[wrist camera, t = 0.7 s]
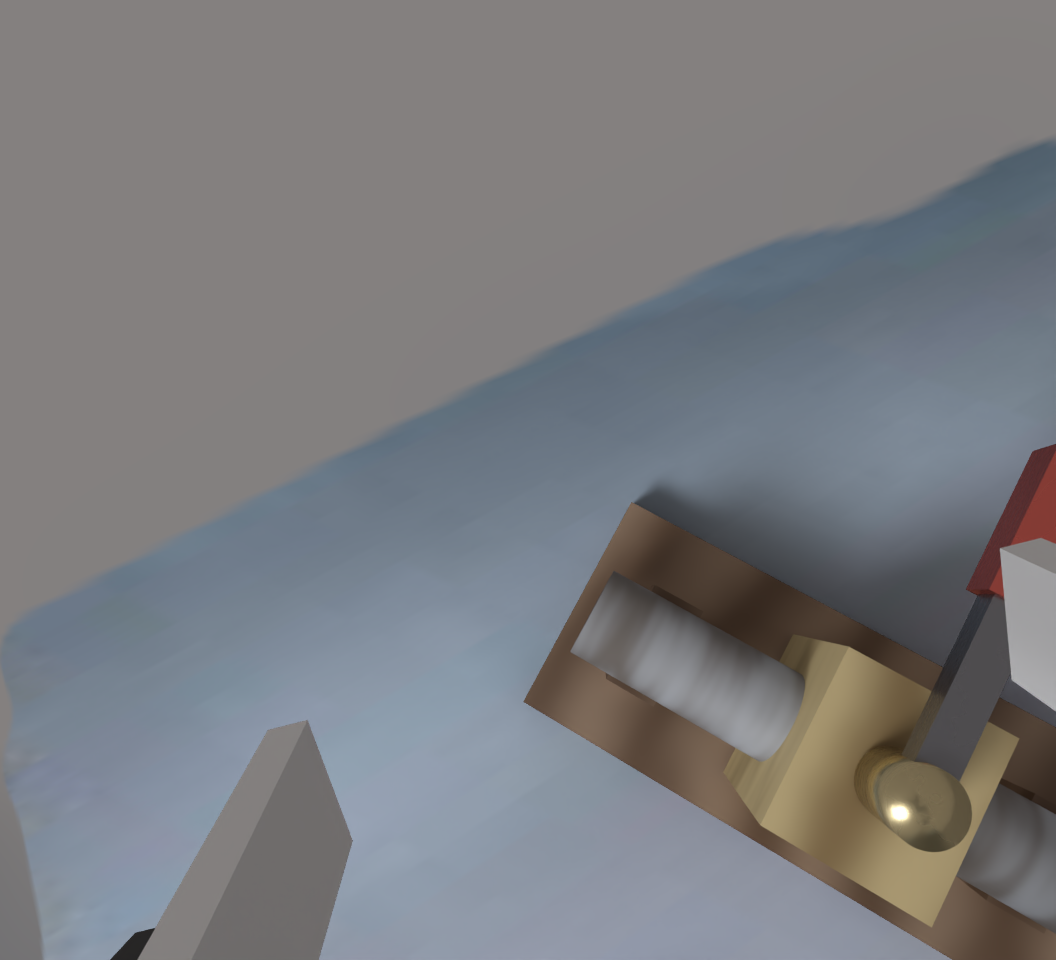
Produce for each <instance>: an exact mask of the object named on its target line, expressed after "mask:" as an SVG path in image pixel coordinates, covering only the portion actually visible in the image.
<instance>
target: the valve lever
mask: <svg viewBox="0 0 1056 960" xmlns="http://www.w3.org/2000/svg"><path fill="white" fill-rule="evenodd" d="M1039 538H1043V539H1045V540H1048V541H1050V542H1052V543H1055V544H1056V444H1054V445H1051V446H1048V447H1045V448H1041V449H1038V450H1035V451H1033V452H1032V454H1031V456H1030V458H1029V460H1028V462H1027V464H1026V466H1025V468H1024V470H1023V472H1022V474H1021V477H1020V479H1019V481H1018V483H1017V485H1016V487H1015V489H1014V491H1013V493H1012V495H1011V497H1010V499H1009V501H1008V503H1007V506H1006V508H1005V510H1004V512H1003V514H1002V516H1001V518H1000V520H999V522H998V524H997V526H996V528H995V530H994V532H993V534H992V537H991V539H990V541H989V543H988V545H987V547H986V549H985V551H984V553H983V555H982V557H981V559H980V561H979V563H978V565H977V568H976V570H975V572H974V574H973V576H972V578H971V580H970V582H969V584H968V586H967V588H966V590H968V591H970V592H972V593H974V594H976V595H978V596H977V598H976V600H975V603H974V605H973V607H972V609H971V611H970V613H969V615H968V617H967V619H966V621H965V623H964V625H963V628H962V630H961V632H960V634H959V636H958V638H957V640H956V642H955V644H954V646H953V648H952V650H951V652H950V655H949V657H948V659H947V661H946V663H945V665H944V667H943V669H942V671H941V673H940V675H939V677H938V679H937V682H936V684H935V686H934V688H933V690H932V692H931V694H930V696H929V698H928V700H927V702H926V704H925V706H924V709H923V711H922V713H921V715H920V717H919V719H918V721H917V723H916V725H915V727H914V729H913V731H912V734H911V736H910V738H909V740H908V742H907V744H906V746H905V748H904V749H901V748H898V747H893V746H883V747H878V748H875V749H873V750H871V751H869V752H868V753H866V754H865V755H864V756H863V757H862V758H861V760H860V761H859V763H858V765H857V767H856V770H855V774H854V787H855V791H856V794H857V797H858V799H859V801H860V802H861V804H862V805H863V807H864V808H865V809H866V810H867V811H868V812H869V813H870V814H872V815H873V816H874V817H875V818H877V819H878V820H879V821H880V822H881V823H883V824H884V825H885V826H886V827H888V828H889V829H890V830H891V831H892V832H894V833H895V834H896V835H897V836H899V837H900V838H901V839H902V840H904V841H905V842H906V843H907V844H909V845H910V846H912V847H914V848H916V849H919V850H922V851H926V852H942V851H946V850H949V849H951V848H953V847H955V846H956V845H958V844H959V843H960V842H961V841H962V840H963V839H964V837H965V836H966V834H967V833H968V831H969V828H970V825H971V821H972V807H971V802H970V799H969V796H968V794H967V792H966V790H965V789H964V787H963V786H962V785H961V783H960V779H961V777H962V775H963V773H964V771H965V769H966V767H967V765H968V762H969V760H970V758H971V756H972V754H973V752H974V750H975V748H976V745H977V743H978V741H979V739H980V737H981V735H982V733H983V731H984V728H985V726H986V724H987V722H988V720H989V718H990V716H991V714H992V711H993V709H994V707H995V705H996V703H997V701H998V699H999V697H1000V694H1001V692H1002V690H1003V688H1004V686H1005V684H1006V682H1007V680H1008V677H1009V675H1010V673H1011V666H1010V655H1009V644H1008V633H1007V622H1006V611H1005V600H1004V589H1003V578H1002V567H1001V556H1000V548H1003V547H1007V546H1011V545H1015V544H1019V543H1023V542H1027V541H1031V540H1035V539H1039Z"/></svg>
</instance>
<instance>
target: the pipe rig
mask: <svg viewBox="0 0 1056 960" xmlns="http://www.w3.org/2000/svg"><path fill="white" fill-rule="evenodd" d="M942 669H943V667H941V666H939V665H937V664H935V663H934V662H932V661H930V660H928V659H926V658H924V657H922V656H920V655H918V654H917V653H915V652H913V651H911V650H909V649H907V648H905V647H903V646H902V645H900V644H898V643H896V642H894V641H892V640H890V639H888V638H886V637H885V636H883V635H881V634H879V633H877V632H875V631H873V630H871V629H869V628H868V627H866V626H864V625H862V624H860V623H858V622H856V621H854V620H853V619H851V618H849V617H847V616H845V615H843V614H841V613H839V612H837V611H836V610H834V609H832V608H830V607H828V606H826V605H824V604H822V603H821V602H819V601H817V600H815V599H813V598H811V597H809V596H807V595H805V594H804V593H802V592H800V591H798V590H796V589H794V588H792V587H790V586H789V585H787V584H785V583H783V582H781V581H779V580H777V579H775V578H773V577H772V576H770V575H768V574H766V573H764V572H762V571H760V570H758V569H756V568H755V567H753V566H751V565H749V564H747V563H745V562H743V561H741V560H740V559H738V558H736V557H734V556H732V555H730V554H728V553H726V552H724V551H723V550H721V549H719V548H717V547H715V546H713V545H711V544H709V543H708V542H706V541H704V540H702V539H700V538H698V537H696V536H694V535H692V534H691V533H689V532H687V531H685V530H683V529H681V528H679V527H677V526H675V525H674V524H672V523H670V522H668V521H666V520H664V519H662V518H660V517H659V516H657V515H655V514H653V513H651V512H649V511H647V510H645V509H643V508H642V507H640V506H638V505H636V504H634V503H632V502H631V504H630V506H629V508H628V510H627V511H626V513H625V515H624V517H623V519H622V521H621V523H620V524H619V526H618V528H617V530H616V532H615V534H614V535H613V537H612V539H611V541H610V543H609V545H608V547H607V548H606V550H605V552H604V554H603V556H602V558H601V559H600V561H599V563H598V565H597V567H596V569H595V571H594V572H593V574H592V576H591V578H590V580H589V582H588V583H587V585H586V587H585V589H584V591H583V593H582V595H581V596H580V598H579V600H578V602H577V604H576V606H575V607H574V609H573V611H572V613H571V615H570V617H569V619H568V620H567V622H566V624H565V626H564V628H563V630H562V631H561V633H560V635H559V637H558V639H557V641H556V643H555V644H554V646H553V648H552V650H551V652H550V654H549V655H548V657H547V659H546V661H545V663H544V665H543V667H542V668H541V670H540V672H539V674H538V676H537V678H536V679H535V681H534V683H533V685H532V687H531V689H530V691H529V692H528V694H527V696H526V698H525V700H524V702H525V703H526V704H528V705H530V706H531V707H533V708H535V709H536V710H538V711H540V712H541V713H543V714H545V715H546V716H548V717H550V718H551V719H553V720H555V721H556V722H558V723H560V724H561V725H563V726H565V727H566V728H568V729H570V730H571V731H573V732H575V733H576V734H578V735H580V736H581V737H583V738H585V739H586V740H588V741H590V742H591V743H593V744H595V745H596V746H598V747H600V748H601V749H603V750H605V751H606V752H608V753H610V754H611V755H613V756H615V757H616V758H618V759H620V760H621V761H623V762H625V763H626V764H628V765H630V766H631V767H633V768H635V769H636V770H638V771H640V772H641V773H643V774H645V775H646V776H648V777H650V778H651V779H653V780H655V781H656V782H658V783H659V784H661V785H663V786H664V787H666V788H668V789H669V790H671V791H673V792H674V793H676V794H678V795H679V796H681V797H683V798H684V799H686V800H688V801H689V802H691V803H693V804H694V805H696V806H698V807H699V808H701V809H703V810H704V811H706V812H708V813H709V814H711V815H713V816H714V817H716V818H718V819H719V820H721V821H723V822H724V823H726V824H728V825H729V826H731V827H733V828H734V829H736V830H738V831H739V832H741V833H743V834H744V835H746V836H748V837H749V838H751V839H753V840H754V841H756V842H758V843H759V844H761V845H763V846H764V847H766V848H768V849H769V850H771V851H773V852H774V853H776V854H778V855H779V856H781V857H783V858H784V859H786V860H788V861H789V862H791V863H793V864H794V865H796V866H798V867H799V868H801V869H803V870H804V871H806V872H808V873H809V874H811V875H812V876H814V877H816V878H817V879H819V880H821V881H822V882H824V883H826V884H827V885H829V886H831V887H832V888H834V889H836V890H837V891H839V892H841V893H842V894H844V895H846V896H847V897H849V898H851V899H852V900H854V901H856V902H857V903H859V904H861V905H862V906H864V907H866V908H867V909H869V910H871V911H872V912H874V913H876V914H877V915H879V916H881V917H882V918H884V919H886V920H887V921H889V922H891V923H892V924H894V925H896V926H897V927H899V928H901V929H902V930H904V931H906V932H907V933H909V934H911V935H912V936H914V937H916V938H917V939H919V940H921V941H922V942H924V943H926V944H927V945H929V946H931V947H932V948H934V949H936V950H937V951H939V952H941V953H942V954H944V955H946V956H947V957H949V958H951V959H952V960H1056V727H1054V726H1052V725H1050V724H1048V723H1047V722H1045V721H1043V720H1041V719H1039V718H1037V717H1035V716H1033V715H1031V714H1030V713H1028V712H1026V711H1024V710H1022V709H1020V708H1018V707H1016V706H1015V705H1013V704H1011V703H1009V702H1007V701H1005V700H1003V699H1001V698H999V699H998V701H997V703H996V705H995V707H994V709H993V711H992V714H991V716H990V718H989V720H988V722H987V724H986V726H985V728H984V731H983V733H982V735H981V737H980V739H979V741H978V743H977V745H976V748H975V750H974V752H973V754H972V756H971V758H970V760H969V762H968V765H967V767H966V769H965V771H964V773H963V775H962V777H961V779H960V783H961V785H962V786H963V787H964V789H965V790H966V792H967V794H968V796H969V799H970V802H971V807H972V821H971V825H970V828H969V831H968V833H967V834H966V836H965V837H964V839H963V840H962V841H961V842H960V843H959V844H958V845H956V846H955V847H953V848H951V849H949V850H946V851H942V852H926V851H922V850H919V849H916V848H914V847H912V846H910V845H909V844H907V843H906V842H905V841H904V840H902V839H901V838H900V837H899V836H897V835H896V834H895V833H894V832H892V831H891V830H890V829H889V828H888V827H886V826H885V825H884V824H883V823H881V822H880V821H879V820H878V819H877V818H875V817H874V816H873V815H872V814H870V813H869V812H868V811H867V810H866V809H865V808H864V807H863V805H862V804H861V802H860V801H859V799H858V797H857V794H856V791H855V787H854V774H855V770H856V767H857V765H858V763H859V761H860V760H861V758H862V757H863V756H864V755H865V754H866V753H868V752H869V751H871V750H873V749H875V748H878V747H883V746H893V747H898V748H901V749H904V748H905V746H906V744H907V742H908V740H909V738H910V736H911V734H912V731H913V729H914V727H915V725H916V723H917V721H918V719H919V717H920V715H921V713H922V711H923V709H924V706H925V704H926V702H927V700H928V698H929V696H930V694H931V692H932V690H933V688H934V686H935V684H936V682H937V679H938V677H939V675H940V673H941V671H942Z"/></svg>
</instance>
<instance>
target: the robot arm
mask: <svg viewBox="0 0 1056 960" xmlns="http://www.w3.org/2000/svg"><path fill="white" fill-rule="evenodd" d="M1000 556H1001V567H1002V578H1003V589H1004V600H1005V611H1006V622H1007V633H1008V644H1009V655H1010V666H1011V677H1012V681H1014V682H1015V683H1017V684H1018V685H1019V686H1021V687H1022V688H1024V689H1025V690H1026V691H1028V692H1029V693H1031V694H1032V695H1033V696H1035V697H1036V698H1038V699H1039V700H1040V701H1042V702H1043V703H1045V704H1046V705H1047V706H1049V707H1050V708H1052V709H1053V710H1054V711H1056V544H1055V543H1052V542H1050V541H1048V540H1045V539H1043V538H1039V539H1035V540H1031V541H1027V542H1023V543H1019V544H1015V545H1011V546H1007V547H1003V548H1000ZM352 841H353V840H352V838H351V835H350V832H349V830H348V827H347V824H346V822H345V819H344V816H343V814H342V811H341V808H340V806H339V803H338V800H337V798H336V795H335V792H334V790H333V787H332V784H331V782H330V779H329V776H328V774H327V771H326V768H325V766H324V763H323V760H322V758H321V755H320V752H319V750H318V747H317V744H316V742H315V739H314V736H313V734H312V731H311V728H310V726H309V723H308V720H306V721H302V722H298V723H294V724H290V725H286V726H282V727H278V728H274V729H270V730H268V731H267V733H266V735H265V736H264V738H263V740H262V742H261V743H260V745H259V747H258V749H257V750H256V752H255V754H254V756H253V757H252V759H251V761H250V763H249V764H248V766H247V768H246V770H245V772H244V773H243V775H242V777H241V779H240V780H239V782H238V784H237V786H236V787H235V789H234V791H233V793H232V794H231V796H230V798H229V800H228V801H227V803H226V805H225V807H224V808H223V810H222V812H221V814H220V815H219V817H218V819H217V821H216V822H215V824H214V826H213V828H212V830H211V831H210V833H209V835H208V837H207V838H206V840H205V842H204V844H203V845H202V847H201V849H200V851H199V852H198V854H197V856H196V858H195V859H194V861H193V863H192V865H191V866H190V868H189V870H188V872H187V873H186V875H185V877H184V879H183V881H182V882H181V884H180V886H179V888H178V889H177V891H176V893H175V895H174V896H173V898H172V900H171V902H170V903H169V905H168V907H167V909H166V910H165V912H164V914H163V916H162V917H161V919H160V921H159V923H158V924H157V926H156V928H153V929H149V930H145V931H141V932H137V933H135V934H134V935H133V936H132V937H131V938H130V939H129V940H128V941H127V942H126V943H125V944H124V946H123V947H122V948H121V949H120V950H119V951H118V952H117V953H116V954H115V955H114V956H113V957H112V958H111V959H110V960H319V956H320V953H321V949H322V946H323V942H324V939H325V935H326V932H327V928H328V925H329V922H330V918H331V915H332V911H333V908H334V904H335V901H336V897H337V894H338V890H339V887H340V883H341V880H342V876H343V873H344V869H345V866H346V862H347V859H348V855H349V852H350V848H351V845H352Z"/></svg>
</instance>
